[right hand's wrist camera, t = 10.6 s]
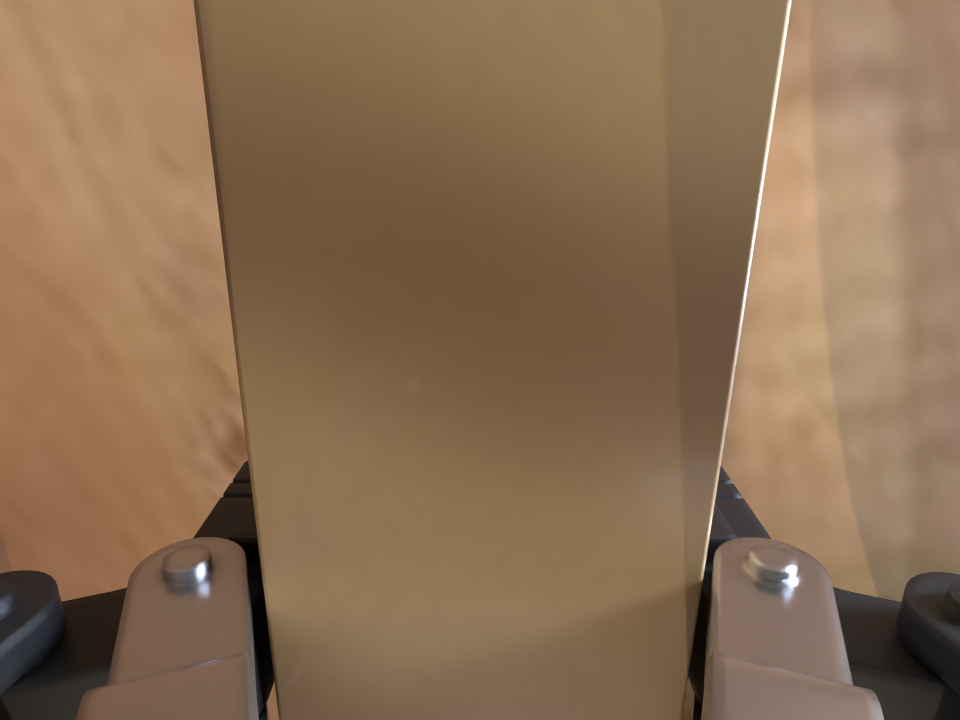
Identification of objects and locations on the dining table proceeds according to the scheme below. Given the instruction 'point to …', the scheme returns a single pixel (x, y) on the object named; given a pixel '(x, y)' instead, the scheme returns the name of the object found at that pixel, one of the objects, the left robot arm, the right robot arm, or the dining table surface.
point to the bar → (486, 336)
